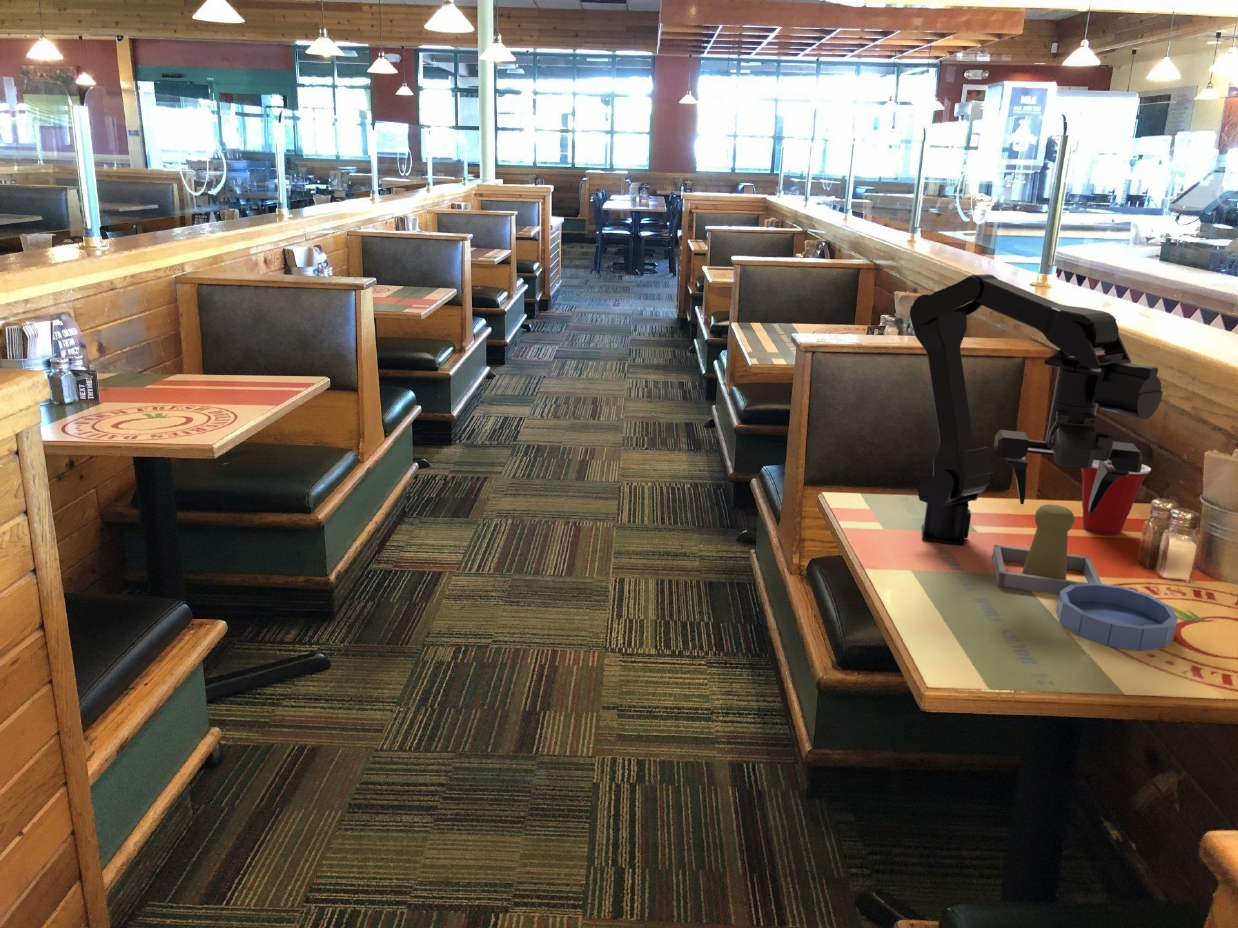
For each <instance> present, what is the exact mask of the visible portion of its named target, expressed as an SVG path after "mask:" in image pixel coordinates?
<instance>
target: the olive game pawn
mask: <svg viewBox="0 0 1238 928" xmlns="http://www.w3.org/2000/svg"><path fill="white" fill-rule="evenodd" d="M1034 523H1035V525H1036V527H1037V528H1036V529H1035V533H1034V536H1033V538H1032V539H1033V540H1032V541H1031V545H1030V548H1029V549H1030V550H1029V553H1028V556H1027V559H1026V562H1025V563H1024V565H1023V569H1022V572H1021V574H1027V575H1034V576H1041V577H1048V578H1056V579H1063V580H1067V554H1068V539H1069V538H1068V537H1069V535H1068V532H1069V531H1070V530H1072V528H1073V525H1074V523H1075V516H1074V513H1073V511H1072V510H1070V509H1069V508H1067V507H1065V506H1063V505H1059V504H1044V505H1043V504H1042V505H1041V506H1039V507H1038V508H1037V509H1036V511H1035V514H1034Z"/></svg>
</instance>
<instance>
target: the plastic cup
mask: <svg viewBox="0 0 1238 928" xmlns="http://www.w3.org/2000/svg"><path fill="white" fill-rule="evenodd" d="M1099 462H1100V460H1094V461H1093V465H1092V467H1091V468H1088V469H1084V468H1081V467H1080V470H1081V478H1082V479H1081V482H1082V483H1081V485H1082V486H1081V487H1082V488H1081V490H1082V491H1081V502H1082V503H1081V508H1082V525H1083V528H1084V529H1085V530H1086V531H1089V532H1091V533H1094V534H1098V535H1103V536H1118V535H1119V534H1120V533H1121V532H1122V531H1123V528H1124V526H1125V523H1126V521H1127V518H1128V516H1129V515H1130V513H1131V510H1132V507H1133V506H1134V503H1135V500H1136V497H1137V495H1138V493H1139V490H1140V488H1141V486H1142V484H1143V482H1144V480H1145V477H1146V476H1147V475H1148V474H1149V473H1150V472H1151V470H1152V468H1151V467H1149V466H1148V465H1145V464H1143V463H1142V467H1141V472H1137V473H1136V472H1129V475H1128V476H1127V477H1120V478H1118V479H1117V480H1115V481H1114V482H1113V483H1112V484H1111V486H1110V487H1109V488H1108V489H1107V491H1106V492H1105V494H1104V495H1103V497H1102V498H1101V500H1100V502H1099V503H1098V505H1097V506H1096V508H1095V509H1094V511H1093V512H1092V513H1090V512H1089V511H1088V509H1089V500H1090V496H1091V492H1092V488H1093V485H1094V481H1095V477H1096V473H1097V469H1098V465H1099Z"/></svg>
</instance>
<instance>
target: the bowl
mask: <svg viewBox="0 0 1238 928" xmlns="http://www.w3.org/2000/svg"><path fill="white" fill-rule="evenodd" d="M1055 610H1056V611H1055V613H1056V615H1057V618H1058V622H1059V624H1061V625H1062V626H1063V627H1065V628H1066V629H1068V630H1070V632H1072V633H1074V634H1075V635H1077V636H1078V637H1081V638H1084V639H1086V640H1089V641H1093V642H1095V643H1098V644H1101V645H1104V646H1106V647H1110V648H1111V647H1112V648H1113V647H1114V648H1119V649H1126V650H1133V651H1139V652H1140V651H1149V650H1160V649H1165V647H1167V646H1168V645H1169V644H1170V643H1171V642H1172V641H1174V637H1175V632H1176V628H1177V623H1178V620H1179V618H1178V616H1177V615H1176V612H1175V611H1174V610H1173V608H1172V606H1170V605H1169V604H1167V603H1165V602H1163V601H1162V600H1160V599H1158V598H1156V597H1154V596H1153V595H1151V594H1147V593H1144V592H1141V591H1138V590H1135V589H1132V588H1128V587H1125V586H1121V585H1115V584H1113V585H1112V584H1106V583H1102V584H1100V583H1088V582H1085V583H1082V584H1071V585H1069V586H1068V587H1066V588H1064V589H1063V590H1061V591H1060V594H1058V599H1057V605H1056V609H1055Z"/></svg>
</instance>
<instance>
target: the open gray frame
mask: <svg viewBox="0 0 1238 928" xmlns="http://www.w3.org/2000/svg"><path fill="white" fill-rule="evenodd" d="M1029 550H1030V548H1022V547H1015V546H1009V545H1008V546H1007V545H1000V544H994V545H993V548H992V556H991V557H992V563H993V568H994V571H995V578H996V582H997V583H996V584H997V586H998V587H1005V588H1011V589H1017V590H1026V591H1031V592H1032V591H1034V592H1041V593H1047V594H1054V595H1059V594H1060V591H1061V590H1063V589H1064V588H1066V587H1068V586H1069V585H1071V584H1082V583H1100V584H1103V582H1102V581H1101V579H1100V577H1099V574H1098V572H1097V570H1096V567H1095V566H1094V563H1093V561H1092V559H1091V557H1090V556H1085V555H1077V554H1069V553H1067V569H1068V570H1069V569H1070V570H1075V571H1076V570H1077V571H1082V574H1083V575H1084V578H1085V580H1086V582H1085V581H1084V582H1083V581H1077V580H1071V579H1070V580H1069V579H1066V580H1063V579H1056V578H1048V577H1041V576H1034V575H1027V574H1022V573H1017V572H1011V571H1006V567H1005V564H1004V561H1009V562H1016V563H1023V564H1025V562H1026V559H1027V556H1028V553H1029ZM1067 569H1066V570H1067Z"/></svg>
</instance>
